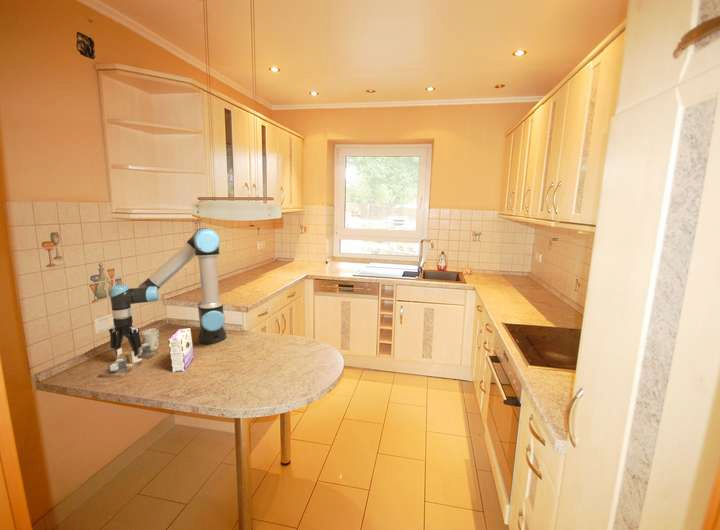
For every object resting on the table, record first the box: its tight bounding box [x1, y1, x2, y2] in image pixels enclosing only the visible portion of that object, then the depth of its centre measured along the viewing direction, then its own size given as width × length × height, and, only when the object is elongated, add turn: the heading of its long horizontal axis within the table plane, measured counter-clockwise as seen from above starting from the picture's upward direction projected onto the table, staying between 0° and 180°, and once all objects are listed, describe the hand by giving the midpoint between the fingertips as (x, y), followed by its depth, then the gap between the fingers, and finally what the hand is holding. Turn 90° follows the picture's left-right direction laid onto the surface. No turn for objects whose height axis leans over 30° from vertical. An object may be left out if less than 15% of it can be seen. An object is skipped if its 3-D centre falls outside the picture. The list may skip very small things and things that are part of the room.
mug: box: [139, 328, 160, 351], centre depth 185 cm, size 8×13×10 cm, turn 89°
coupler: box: [119, 349, 139, 365], centre depth 167 cm, size 6×5×5 cm
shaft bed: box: [97, 342, 159, 378], centre depth 167 cm, size 26×11×6 cm, turn 177°
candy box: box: [168, 327, 195, 373], centre depth 163 cm, size 14×6×16 cm, turn 9°
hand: (128, 361), depth 167 cm, fingers open, 7 cm apart
